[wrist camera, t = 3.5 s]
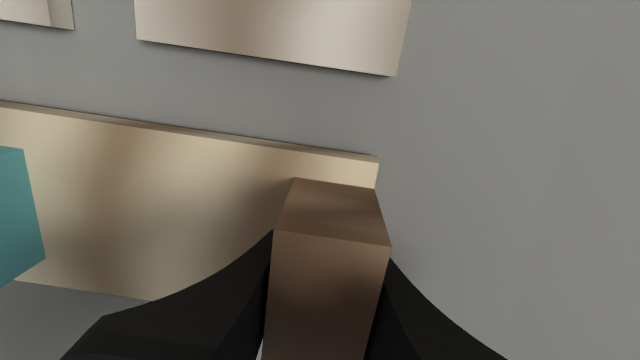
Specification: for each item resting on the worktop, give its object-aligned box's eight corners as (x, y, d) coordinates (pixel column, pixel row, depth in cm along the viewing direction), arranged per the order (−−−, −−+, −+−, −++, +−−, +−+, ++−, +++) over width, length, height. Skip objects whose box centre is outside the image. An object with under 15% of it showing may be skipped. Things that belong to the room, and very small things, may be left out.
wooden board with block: (376, 156, 12) (401, 211, 7) (343, 313, 15) (345, 427, 10) (-121, 82, 12) (-413, 90, 7) (-61, 252, 15) (-246, 336, 10)
